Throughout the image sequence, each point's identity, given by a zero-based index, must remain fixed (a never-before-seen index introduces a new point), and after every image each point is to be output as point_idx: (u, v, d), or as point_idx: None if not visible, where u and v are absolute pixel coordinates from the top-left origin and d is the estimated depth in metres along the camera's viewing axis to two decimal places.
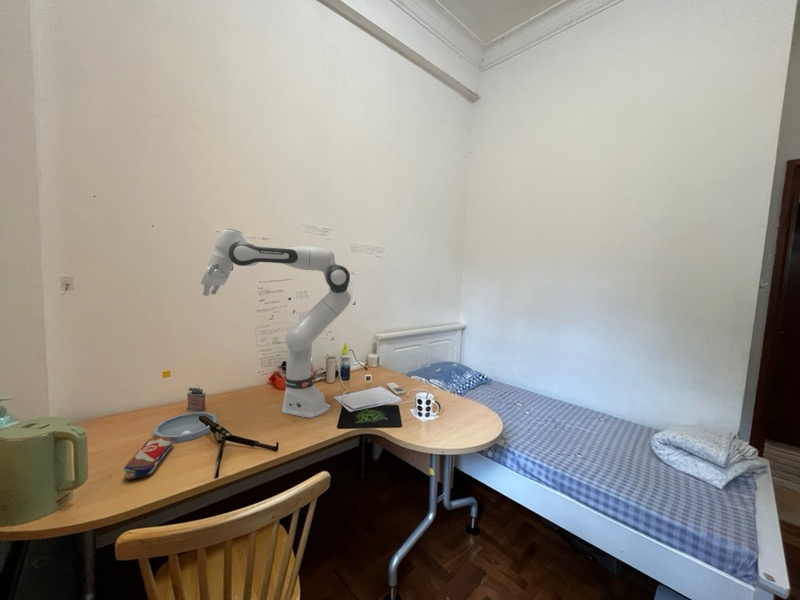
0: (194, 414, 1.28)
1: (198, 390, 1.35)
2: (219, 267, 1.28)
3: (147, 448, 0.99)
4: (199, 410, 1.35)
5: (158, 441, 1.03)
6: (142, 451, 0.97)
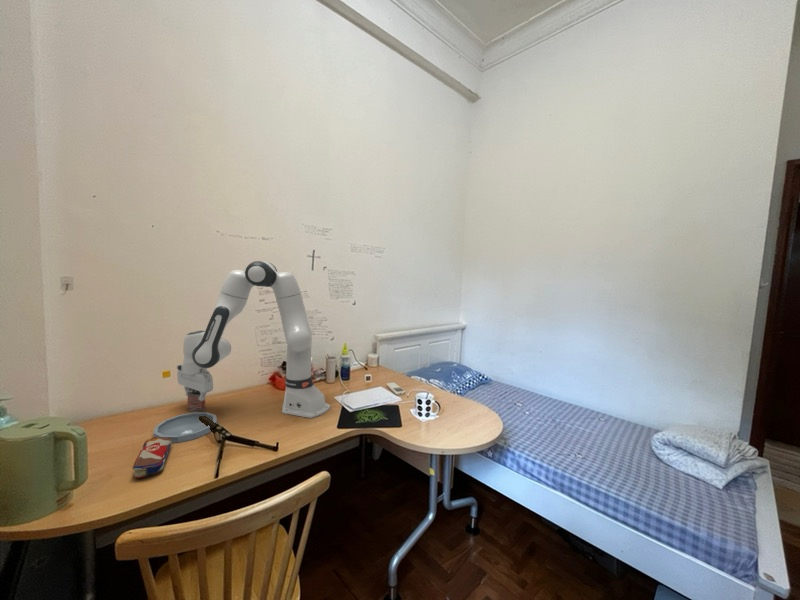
0: (194, 414, 1.28)
1: None
2: None
3: (149, 448, 0.99)
4: (199, 410, 1.35)
5: (158, 441, 1.03)
6: (146, 451, 0.97)
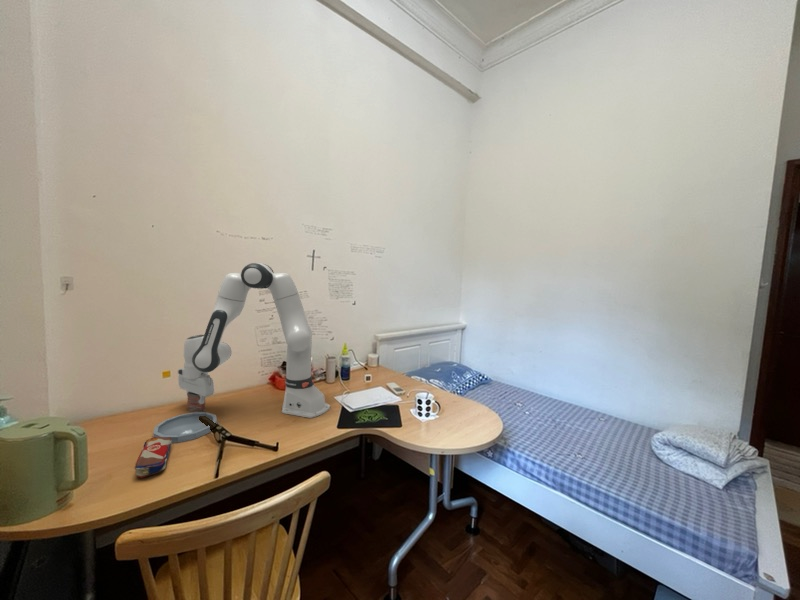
0: (194, 414, 1.28)
1: None
2: None
3: (150, 447, 0.99)
4: (199, 410, 1.35)
5: (158, 441, 1.03)
6: (147, 451, 0.97)
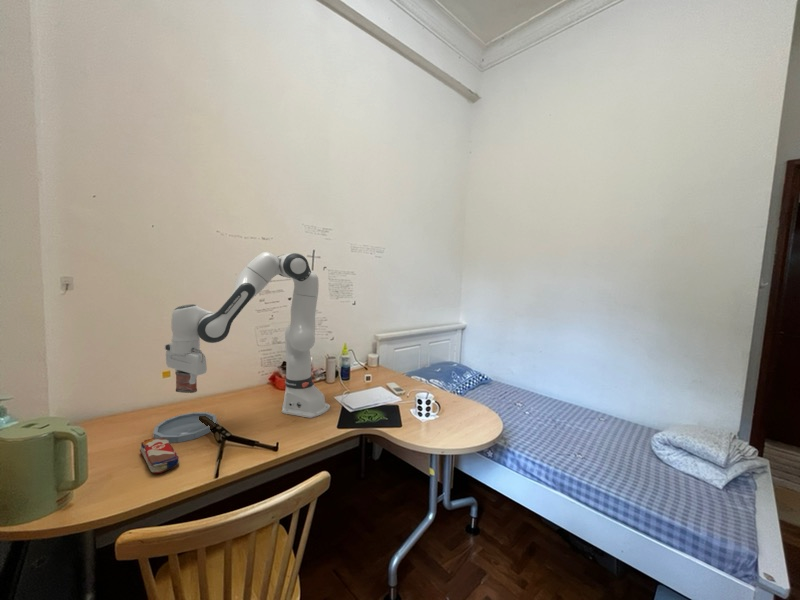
0: (194, 414, 1.28)
1: None
2: None
3: (154, 447, 0.99)
4: (190, 391, 1.17)
5: (157, 441, 1.03)
6: (154, 450, 0.98)
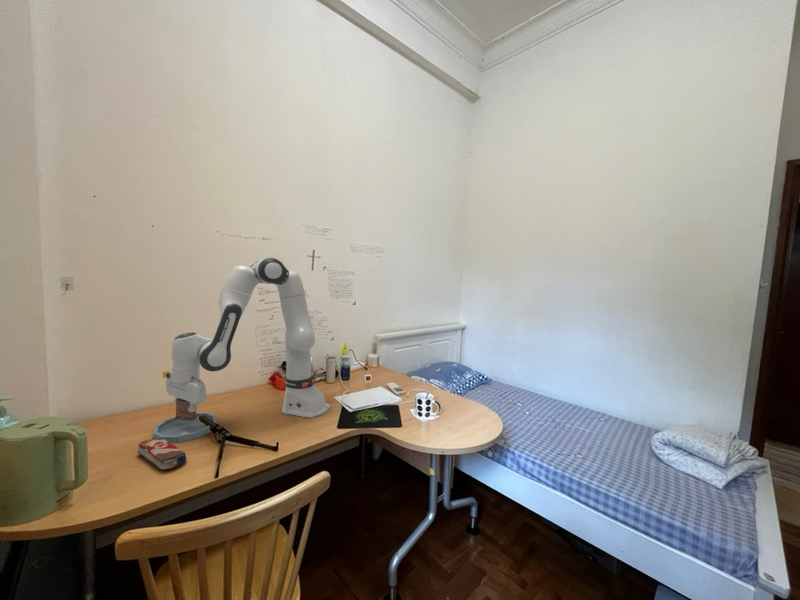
0: None
1: None
2: None
3: (157, 446, 1.00)
4: (189, 419, 1.18)
5: (156, 441, 1.03)
6: (158, 448, 0.98)
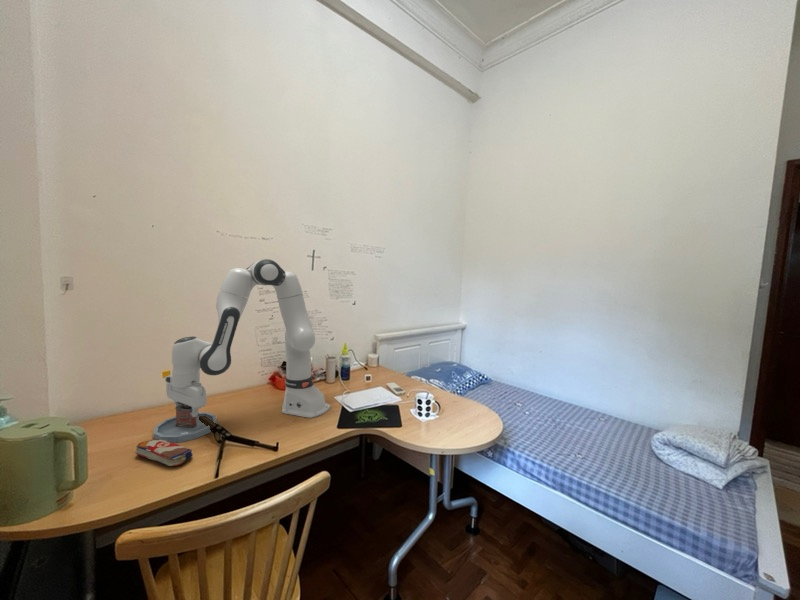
0: None
1: None
2: None
3: (160, 445, 1.00)
4: (190, 426, 1.18)
5: (156, 441, 1.03)
6: (162, 447, 0.99)
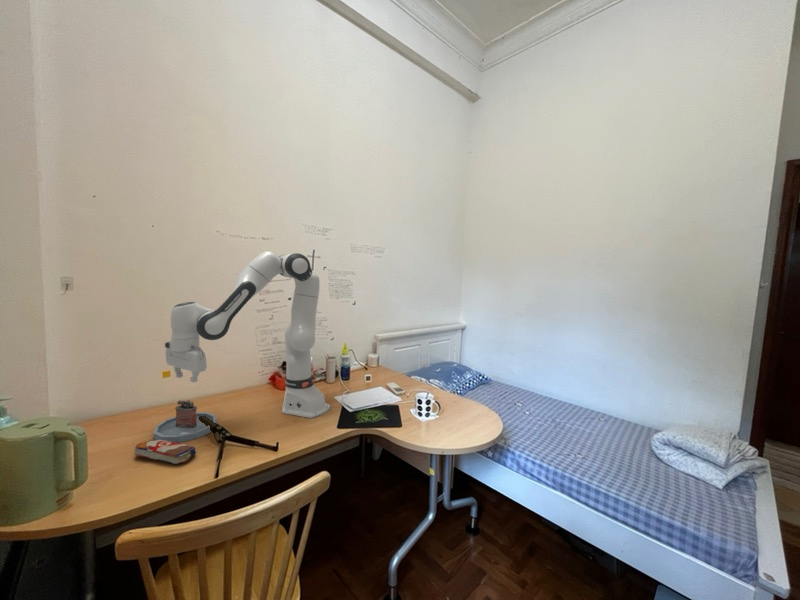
0: None
1: (188, 403, 1.19)
2: None
3: (161, 445, 1.01)
4: (190, 426, 1.18)
5: (155, 441, 1.03)
6: (164, 446, 1.00)
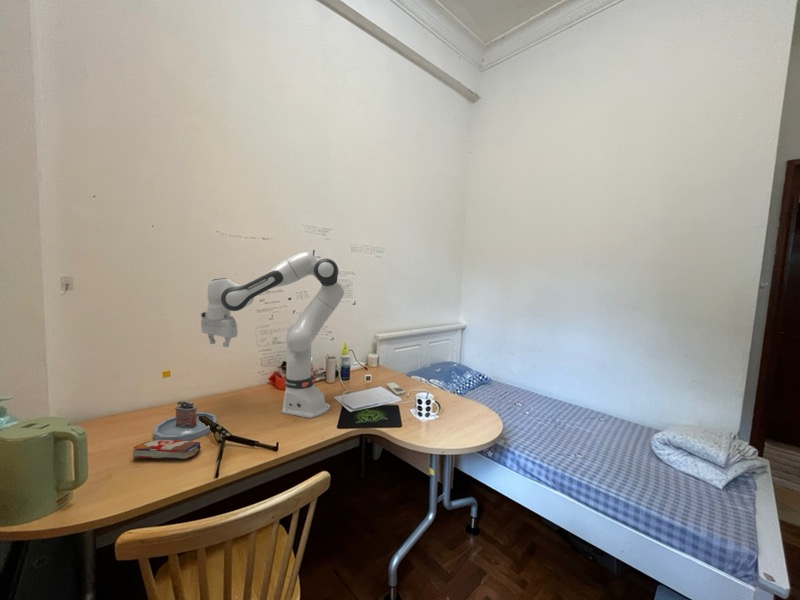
0: None
1: (188, 404, 1.19)
2: None
3: (164, 443, 1.01)
4: (190, 426, 1.18)
5: (154, 441, 1.03)
6: (169, 444, 1.01)
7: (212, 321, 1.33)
